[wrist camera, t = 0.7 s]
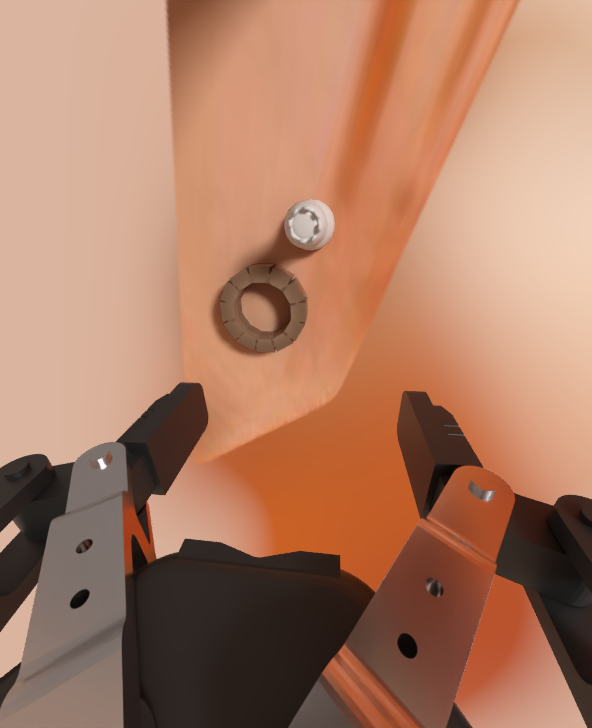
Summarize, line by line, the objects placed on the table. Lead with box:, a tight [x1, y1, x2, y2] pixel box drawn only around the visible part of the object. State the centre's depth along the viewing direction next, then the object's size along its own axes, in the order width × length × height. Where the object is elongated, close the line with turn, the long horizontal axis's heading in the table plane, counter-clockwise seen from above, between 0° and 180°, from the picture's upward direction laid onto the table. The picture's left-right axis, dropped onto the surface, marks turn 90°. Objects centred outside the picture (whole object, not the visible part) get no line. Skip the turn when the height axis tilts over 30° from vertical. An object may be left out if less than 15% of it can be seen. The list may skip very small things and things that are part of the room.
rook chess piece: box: [284, 199, 335, 250], centre depth 24 cm, size 4×4×8 cm
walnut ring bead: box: [220, 264, 307, 352], centre depth 31 cm, size 9×9×2 cm
